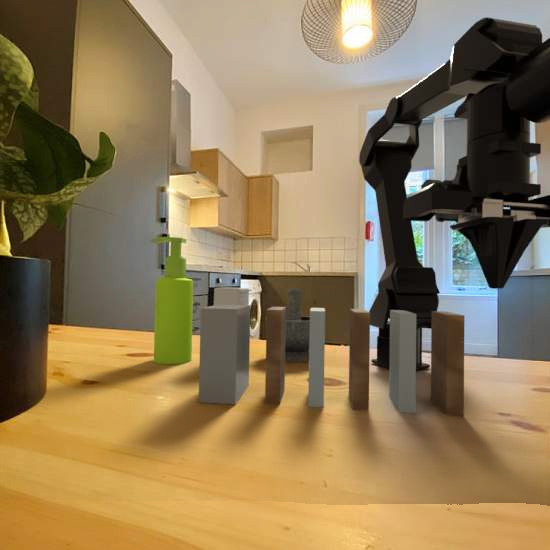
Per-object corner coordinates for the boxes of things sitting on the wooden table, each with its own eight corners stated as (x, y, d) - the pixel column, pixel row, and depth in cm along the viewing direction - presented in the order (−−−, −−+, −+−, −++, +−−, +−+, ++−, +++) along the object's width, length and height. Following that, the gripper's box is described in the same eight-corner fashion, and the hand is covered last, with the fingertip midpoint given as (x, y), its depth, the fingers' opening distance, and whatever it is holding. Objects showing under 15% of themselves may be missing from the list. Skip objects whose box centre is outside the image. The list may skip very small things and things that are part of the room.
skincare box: (237, 366, 53) (239, 288, 54) (211, 364, 54) (213, 287, 54) (248, 357, 59) (249, 287, 60) (224, 356, 60) (226, 287, 60)
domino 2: (323, 392, 41) (324, 308, 41) (323, 407, 36) (325, 311, 36) (309, 391, 41) (311, 307, 42) (308, 406, 36) (309, 310, 37)
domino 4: (403, 397, 40) (404, 310, 40) (415, 413, 35) (416, 314, 35) (389, 396, 40) (390, 309, 40) (398, 412, 35) (400, 313, 35)
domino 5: (445, 399, 39) (446, 311, 40) (463, 416, 34) (464, 315, 35) (430, 398, 40) (431, 311, 40) (446, 415, 35) (447, 315, 35)
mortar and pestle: (320, 365, 55) (322, 289, 55) (261, 363, 55) (263, 288, 56) (318, 351, 66) (319, 288, 66) (269, 350, 67) (270, 287, 67)
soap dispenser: (158, 355, 60) (161, 239, 60) (196, 357, 59) (199, 239, 59) (140, 363, 54) (144, 235, 54) (182, 365, 53) (186, 235, 53)
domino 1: (284, 390, 42) (286, 307, 42) (279, 404, 37) (281, 309, 37) (271, 389, 42) (272, 306, 42) (264, 403, 37) (266, 309, 37)
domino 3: (362, 394, 41) (363, 309, 41) (368, 410, 36) (370, 312, 36) (348, 393, 41) (350, 308, 41) (352, 409, 36) (354, 312, 36)
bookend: (248, 385, 43) (250, 305, 44) (235, 404, 36) (237, 309, 37) (217, 383, 44) (219, 304, 44) (198, 402, 37) (200, 308, 37)
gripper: (509, 172, 47) (509, 288, 46) (380, 161, 43) (378, 286, 43) (600, 139, 36) (600, 290, 35) (436, 121, 33) (434, 287, 32)
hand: (496, 288), depth 37 cm, fingers closed
